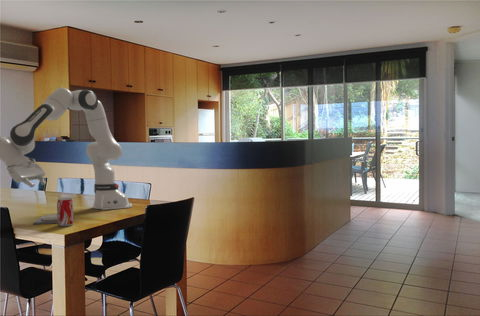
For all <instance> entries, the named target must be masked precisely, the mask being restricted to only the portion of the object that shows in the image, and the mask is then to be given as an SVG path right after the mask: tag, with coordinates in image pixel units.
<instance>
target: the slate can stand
mask: <svg viewBox="0 0 480 316" xmlns="http://www.w3.org/2000/svg"><path fill="white" fill-rule="evenodd" d="M47 224H48V225H51V224H58V223H57V213H53V214H52V213H51V214H44V215H42V216H39V217H38V218H37V219H36V220H34V221H33V225H47Z"/></svg>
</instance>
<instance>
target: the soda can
mask: <svg viewBox="0 0 480 316" xmlns="http://www.w3.org/2000/svg"><path fill="white" fill-rule="evenodd" d="M56 211H57V213H56V214H57V223H56V224H57V226H58V227H61V228H64V227H70V226H73V224H74V201H73V198H72V197H61V198H60V197H59V198H58V199H57V202H56Z"/></svg>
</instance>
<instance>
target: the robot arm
mask: <svg viewBox="0 0 480 316" xmlns="http://www.w3.org/2000/svg"><path fill="white" fill-rule="evenodd" d="M97 97H98V96H97V95H96V94H95V92H94V91H92V90H90V89H77V90H73V91H72V90H69V89H67V88H65V87H59V88H57V89H55V90H54V91H52V93H51V94H50V95H48V96H47V98H46V99H45V100H44V101H43V102H42V103H41V104H40V106H38V107H37V108H36V109H35V110H33V112H32V113H31V114H30V115H28V117H27V118H26V119H25V120H23V121H21V122H20V123H17V124H16V125H14V126H13V127H12V128H11V130H10V131H9V132H10V133H9V136H3V135H2V136H0V160H1V161H2V162H4V163H5V166H6V170H7V171H8V175H9V176H10V177H11V178H12V180H13V181H15V182H16V183H23V184H25V185H27V186H28V187H29V188H33V187H35V183H34V182H32V181H35V180H38V181H39V182H40V183H39V184H40V185H42V186H45V185H46V184H47V181H45V179H44V176H45V175H46V172H45V170H44V169H43V168H42V167H41V166H40V165H39V164H38V163H37V162H36V159H35V158H30V157H28V156H25V155H28V154H29V153H32V151H34V149H35V148H36V140H35V133H36V130H37V129H39V127H40V126H41V125H42V124H43V123H44V121H46V120H48V121H57V120H59V119H60V118H61V117H62V116H63V115H64V113H66V111H67V110H69V111H83V112H84V114H85V120H86V123H87V127H88V131H89V134H90V135H91V137H93V139H94V140H95V141H93V142H91V143H89V144H88V145H87V147H86V151H85V152H86V155H87V157H89V159H90V161H91V162H92V167H93V170H94V185H93V191H94V200H93V206H92V208H93V209H97V210H101V211H103V210H104V211H106V210H107V211H108V210H116V209H117V210H119V209H129V208H132V207H133V203H131V202H129V198H128V195H127V194H126V193H124V192H123V191H121V190H120V189H119V184H118V183H116V182H115V169H114V168H113V166H111V163H110V161H115V160H118V159H120V158H121V157H122V156H123V147H122V146H121V144H119V143H118V141H116V139H115V138H114V136H113V134H112V132H111V130H110V127H109V123H108V119H107V115H106V112H105V108H104V106H103V104H102V102H101V101H100V100H99V99H98V98H97Z"/></svg>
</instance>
